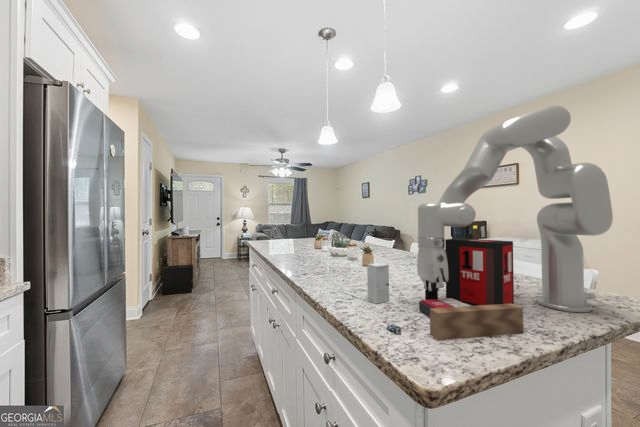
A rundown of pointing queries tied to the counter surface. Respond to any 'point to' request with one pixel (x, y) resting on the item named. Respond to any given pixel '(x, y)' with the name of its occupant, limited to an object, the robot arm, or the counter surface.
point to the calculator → (438, 304)
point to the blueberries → (394, 329)
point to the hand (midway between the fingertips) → (431, 303)
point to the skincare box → (378, 282)
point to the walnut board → (475, 321)
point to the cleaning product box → (480, 271)
